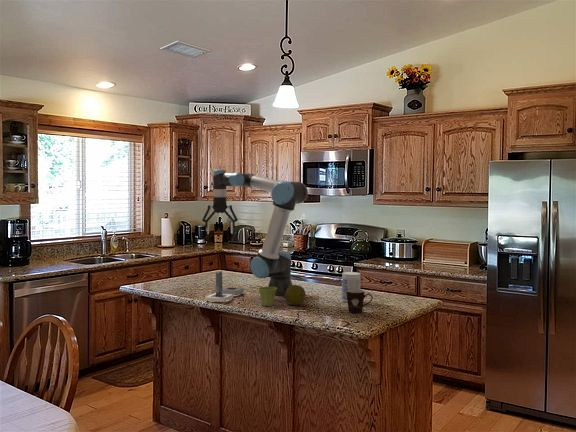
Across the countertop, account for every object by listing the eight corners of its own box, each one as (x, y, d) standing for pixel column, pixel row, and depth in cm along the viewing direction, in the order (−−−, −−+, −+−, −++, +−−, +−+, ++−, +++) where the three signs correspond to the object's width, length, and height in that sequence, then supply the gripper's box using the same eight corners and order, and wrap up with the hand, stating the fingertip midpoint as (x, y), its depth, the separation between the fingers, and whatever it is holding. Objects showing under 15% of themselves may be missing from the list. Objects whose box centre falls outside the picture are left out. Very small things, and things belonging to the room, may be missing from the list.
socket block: (243, 293, 291) (243, 287, 290) (236, 297, 281) (236, 290, 281) (227, 292, 294) (227, 286, 293) (219, 296, 284) (219, 289, 284)
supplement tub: (339, 302, 268) (339, 273, 267) (345, 299, 276) (345, 271, 276) (357, 304, 264) (357, 275, 263) (362, 300, 272) (362, 272, 272)
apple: (284, 306, 257) (284, 284, 257) (286, 302, 267) (286, 281, 267) (304, 307, 256) (304, 285, 256) (306, 303, 266) (306, 281, 265)
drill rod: (223, 300, 273) (223, 271, 273) (220, 301, 270) (220, 272, 269) (217, 299, 274) (217, 271, 274) (214, 301, 271) (214, 272, 271)
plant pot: (254, 305, 261) (254, 287, 261) (269, 302, 267) (269, 285, 267) (265, 308, 254) (265, 290, 254) (280, 305, 260) (280, 288, 260)
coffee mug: (342, 312, 244) (342, 291, 244) (351, 309, 252) (351, 288, 251) (365, 315, 238) (365, 294, 237) (373, 312, 245) (373, 291, 245)
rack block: (233, 299, 276) (233, 294, 276) (224, 303, 265) (224, 298, 265) (214, 297, 279) (214, 293, 279) (204, 302, 269) (204, 297, 268)
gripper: (240, 196, 305) (240, 232, 306) (197, 196, 300) (197, 233, 301) (242, 196, 298) (242, 233, 299) (198, 196, 293) (198, 234, 294)
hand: (220, 233), depth 300 cm, fingers open, 13 cm apart
